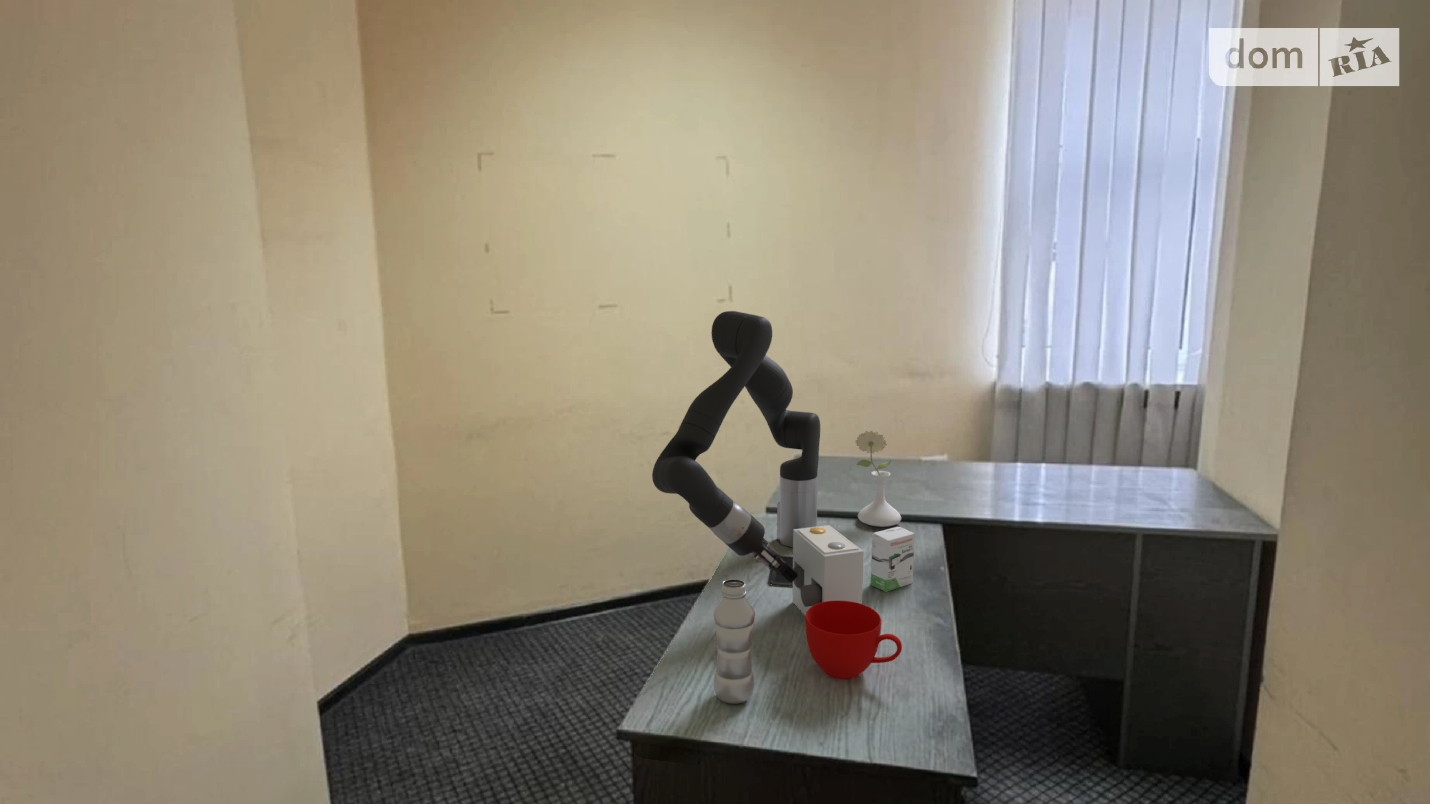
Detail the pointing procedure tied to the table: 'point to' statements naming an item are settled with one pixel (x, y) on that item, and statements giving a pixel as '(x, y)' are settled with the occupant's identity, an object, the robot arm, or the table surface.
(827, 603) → the ceramic cup
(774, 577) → the phone
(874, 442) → the flower in vase
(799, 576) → the button
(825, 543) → the console
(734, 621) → the plastic bottle
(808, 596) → the button
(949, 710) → the table surface
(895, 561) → the ink box
